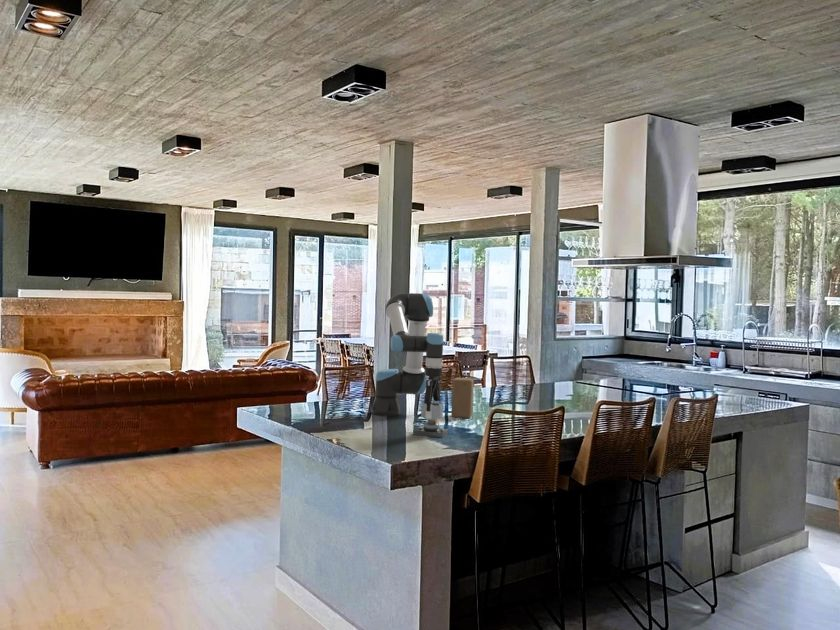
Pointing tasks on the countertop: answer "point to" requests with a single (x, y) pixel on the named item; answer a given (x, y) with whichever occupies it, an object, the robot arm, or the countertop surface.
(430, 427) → the shaft stand
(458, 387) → the wooden block
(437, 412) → the hub
